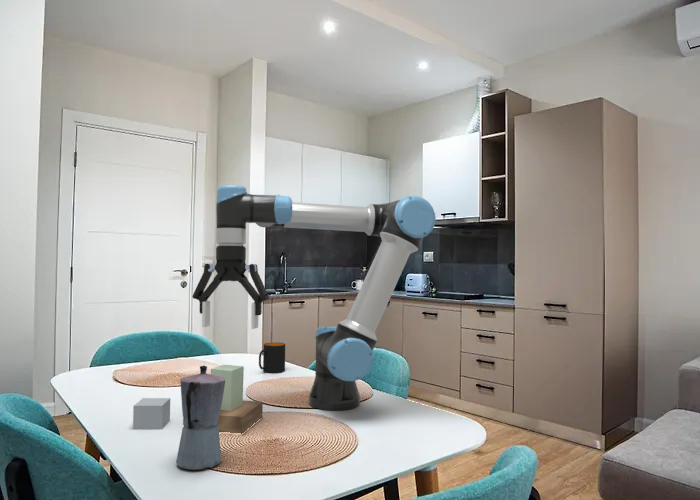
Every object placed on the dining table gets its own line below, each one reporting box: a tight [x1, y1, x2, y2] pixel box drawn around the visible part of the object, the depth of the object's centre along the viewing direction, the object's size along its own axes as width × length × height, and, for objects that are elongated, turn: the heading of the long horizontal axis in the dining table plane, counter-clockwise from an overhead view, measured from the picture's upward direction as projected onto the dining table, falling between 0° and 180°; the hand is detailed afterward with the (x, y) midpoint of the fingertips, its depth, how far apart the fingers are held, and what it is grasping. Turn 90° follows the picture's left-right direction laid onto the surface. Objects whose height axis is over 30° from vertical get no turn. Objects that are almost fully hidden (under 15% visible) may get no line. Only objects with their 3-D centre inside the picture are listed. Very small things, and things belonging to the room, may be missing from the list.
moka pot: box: [175, 365, 225, 471], centre depth 106 cm, size 10×15×20 cm, turn 2°
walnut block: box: [217, 399, 264, 434], centre depth 131 cm, size 14×14×5 cm
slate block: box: [132, 397, 171, 431], centre depth 131 cm, size 7×7×6 cm
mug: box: [258, 342, 286, 374], centre depth 195 cm, size 8×12×10 cm
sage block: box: [210, 364, 245, 411], centre depth 132 cm, size 6×6×10 cm
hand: (230, 327), depth 132 cm, fingers open, 13 cm apart
